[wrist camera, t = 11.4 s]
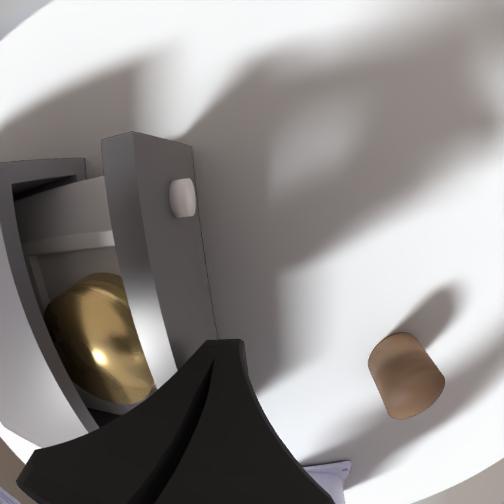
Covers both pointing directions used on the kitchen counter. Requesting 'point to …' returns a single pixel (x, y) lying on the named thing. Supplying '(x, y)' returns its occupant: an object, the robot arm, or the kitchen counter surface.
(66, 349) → the disc
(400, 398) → the brown domed cylinder
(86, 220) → the tray
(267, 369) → the kitchen counter surface
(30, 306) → the housing
